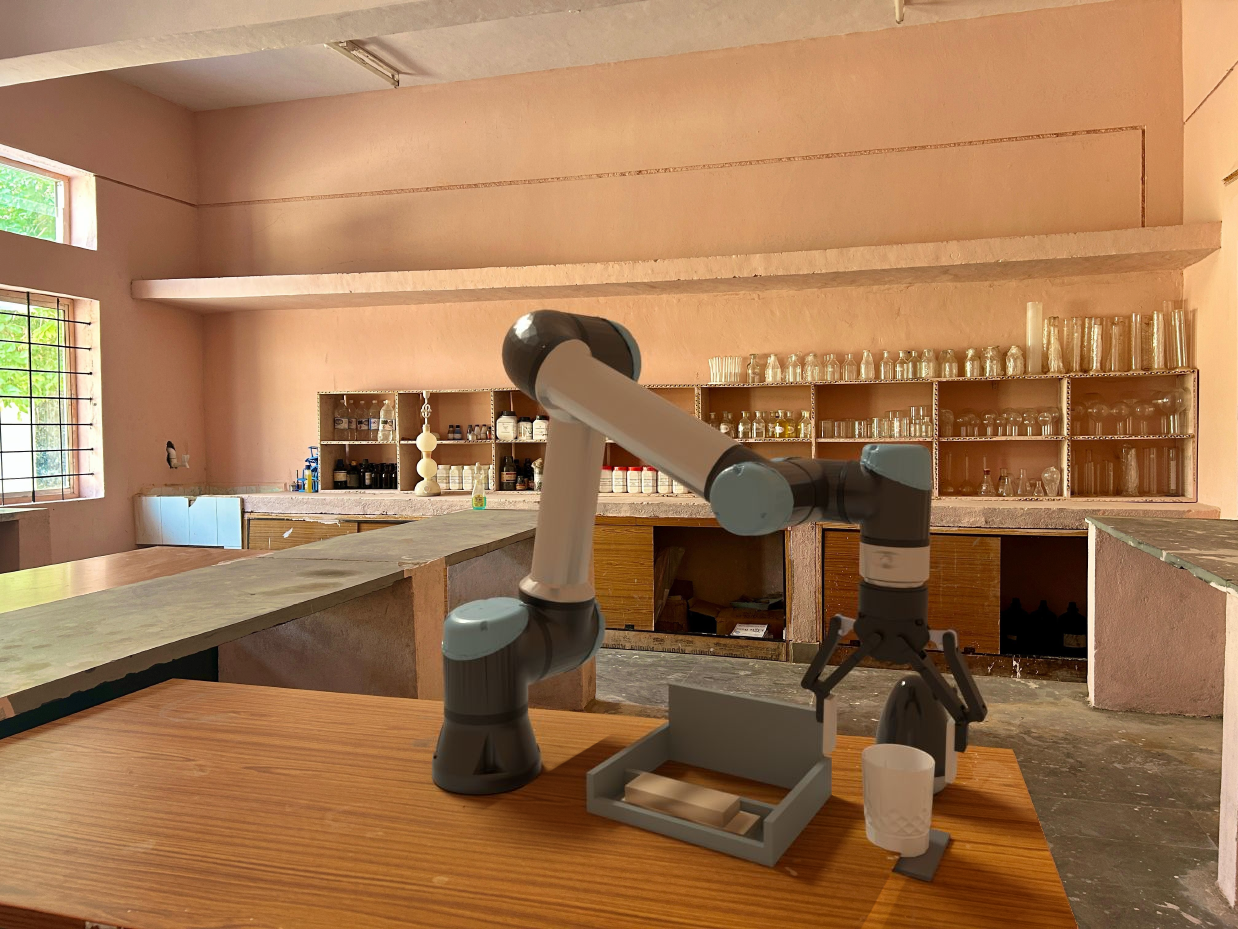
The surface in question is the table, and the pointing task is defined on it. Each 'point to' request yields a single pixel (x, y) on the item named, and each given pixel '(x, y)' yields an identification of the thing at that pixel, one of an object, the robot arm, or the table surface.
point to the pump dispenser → (916, 722)
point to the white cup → (898, 797)
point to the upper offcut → (683, 799)
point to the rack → (725, 767)
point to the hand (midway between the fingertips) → (887, 764)
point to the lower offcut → (739, 825)
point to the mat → (924, 858)
